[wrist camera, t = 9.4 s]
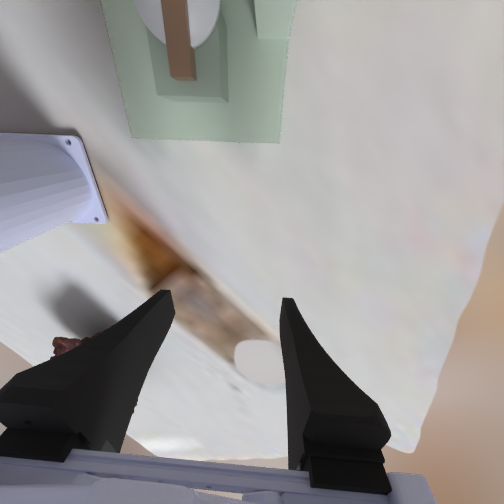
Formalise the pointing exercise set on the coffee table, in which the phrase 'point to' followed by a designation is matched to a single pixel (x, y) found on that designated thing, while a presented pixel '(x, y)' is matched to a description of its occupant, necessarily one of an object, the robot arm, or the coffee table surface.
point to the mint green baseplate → (206, 74)
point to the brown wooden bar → (180, 29)
